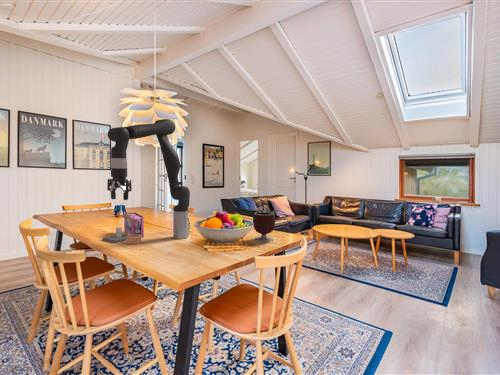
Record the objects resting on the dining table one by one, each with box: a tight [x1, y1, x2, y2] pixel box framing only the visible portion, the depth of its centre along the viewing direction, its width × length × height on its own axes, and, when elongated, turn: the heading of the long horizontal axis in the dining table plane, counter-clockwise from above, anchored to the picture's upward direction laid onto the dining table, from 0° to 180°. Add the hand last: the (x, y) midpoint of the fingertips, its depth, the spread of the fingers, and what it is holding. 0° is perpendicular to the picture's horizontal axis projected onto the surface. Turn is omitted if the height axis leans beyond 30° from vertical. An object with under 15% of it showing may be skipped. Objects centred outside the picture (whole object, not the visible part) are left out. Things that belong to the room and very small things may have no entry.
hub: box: [125, 234, 142, 245], centre depth 162 cm, size 5×7×4 cm
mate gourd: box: [252, 209, 277, 243], centre depth 174 cm, size 16×14×20 cm
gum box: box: [123, 212, 145, 239], centre depth 182 cm, size 24×8×14 cm, turn 35°
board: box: [102, 226, 127, 244], centre depth 169 cm, size 13×13×8 cm
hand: (119, 199), depth 139 cm, fingers open, 8 cm apart
